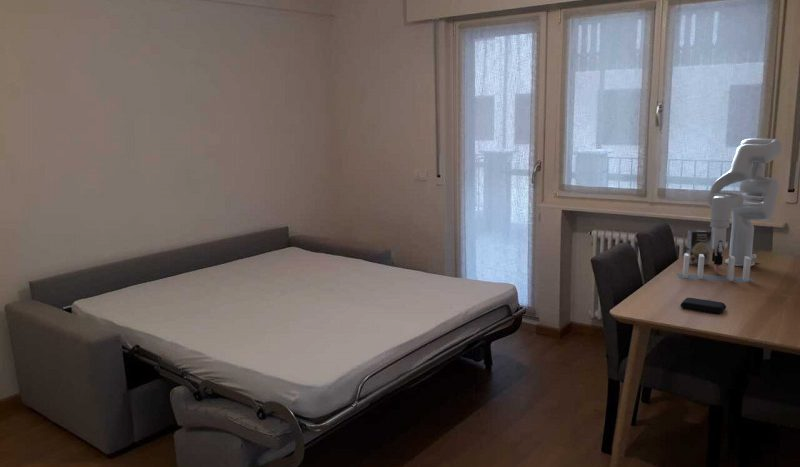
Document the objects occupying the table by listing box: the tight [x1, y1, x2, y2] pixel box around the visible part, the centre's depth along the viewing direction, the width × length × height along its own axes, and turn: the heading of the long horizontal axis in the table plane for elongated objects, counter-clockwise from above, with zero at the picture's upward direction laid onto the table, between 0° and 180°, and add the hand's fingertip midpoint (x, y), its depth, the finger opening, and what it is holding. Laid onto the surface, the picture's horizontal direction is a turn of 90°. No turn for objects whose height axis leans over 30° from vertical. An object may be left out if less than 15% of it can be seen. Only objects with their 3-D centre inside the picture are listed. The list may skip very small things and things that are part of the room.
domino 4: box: [741, 256, 751, 282], centre depth 267 cm, size 2×5×10 cm, turn 162°
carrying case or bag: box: [680, 297, 727, 315], centre depth 233 cm, size 11×3×15 cm
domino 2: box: [696, 254, 705, 279], centre depth 273 cm, size 2×5×10 cm, turn 162°
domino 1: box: [682, 252, 690, 278], centre depth 275 cm, size 2×5×10 cm, turn 162°
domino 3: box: [726, 255, 736, 281], centre depth 269 cm, size 2×5×10 cm, turn 162°
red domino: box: [713, 248, 721, 273], centre depth 279 cm, size 2×5×10 cm, turn 162°
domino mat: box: [676, 273, 756, 284], centre depth 272 cm, size 30×8×1 cm, turn 72°
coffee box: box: [685, 229, 712, 266], centre depth 299 cm, size 9×6×16 cm
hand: (717, 262), depth 279 cm, fingers closed on red domino, 4 cm apart
